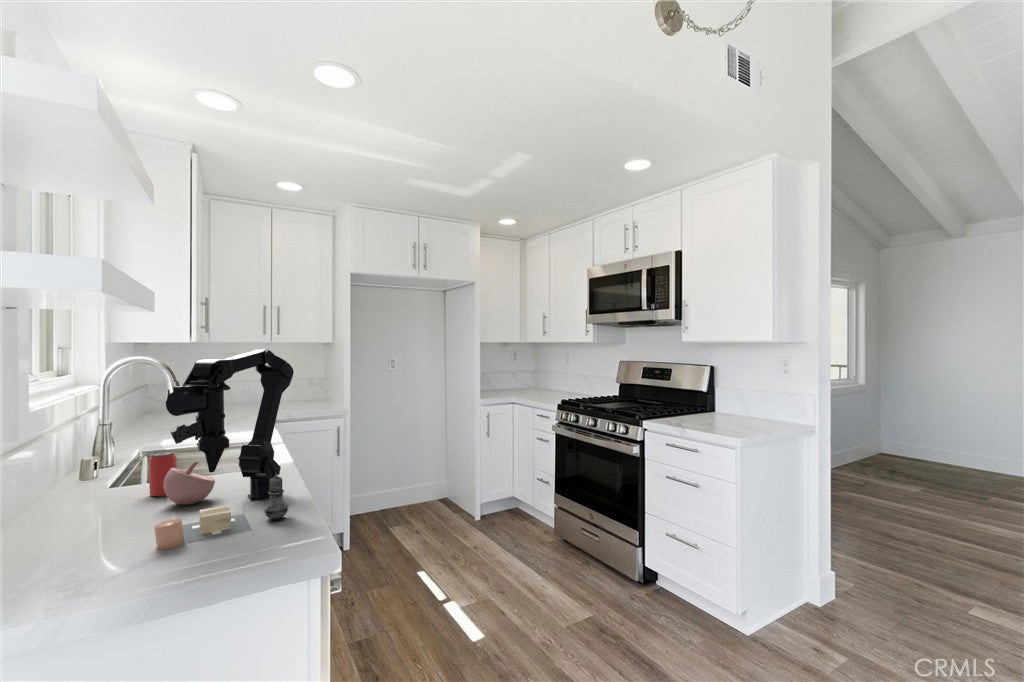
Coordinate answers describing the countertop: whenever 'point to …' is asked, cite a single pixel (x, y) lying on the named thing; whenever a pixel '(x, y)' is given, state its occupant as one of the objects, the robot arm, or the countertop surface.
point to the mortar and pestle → (187, 485)
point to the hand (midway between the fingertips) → (211, 472)
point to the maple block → (215, 519)
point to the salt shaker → (276, 502)
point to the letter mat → (194, 533)
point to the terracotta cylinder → (169, 534)
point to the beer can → (160, 471)
